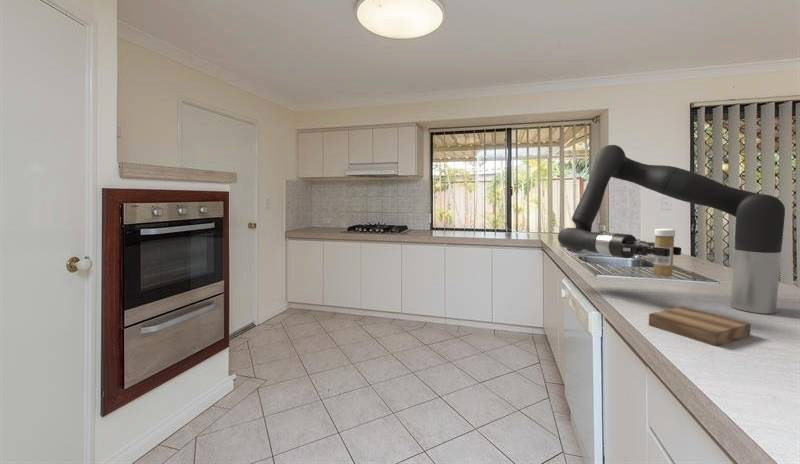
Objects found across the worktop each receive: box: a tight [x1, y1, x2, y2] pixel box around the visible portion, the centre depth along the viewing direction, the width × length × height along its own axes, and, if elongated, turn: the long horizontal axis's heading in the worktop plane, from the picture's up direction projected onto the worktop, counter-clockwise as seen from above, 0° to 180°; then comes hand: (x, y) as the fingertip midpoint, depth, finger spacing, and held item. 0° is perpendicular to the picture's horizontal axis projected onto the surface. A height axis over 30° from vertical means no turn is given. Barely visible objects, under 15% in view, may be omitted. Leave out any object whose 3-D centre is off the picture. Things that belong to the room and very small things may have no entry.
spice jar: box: [652, 228, 676, 278], centre depth 97 cm, size 5×5×14 cm
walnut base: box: [648, 306, 752, 347], centre depth 84 cm, size 14×14×3 cm
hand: (674, 252), depth 94 cm, fingers closed on spice jar, 4 cm apart
